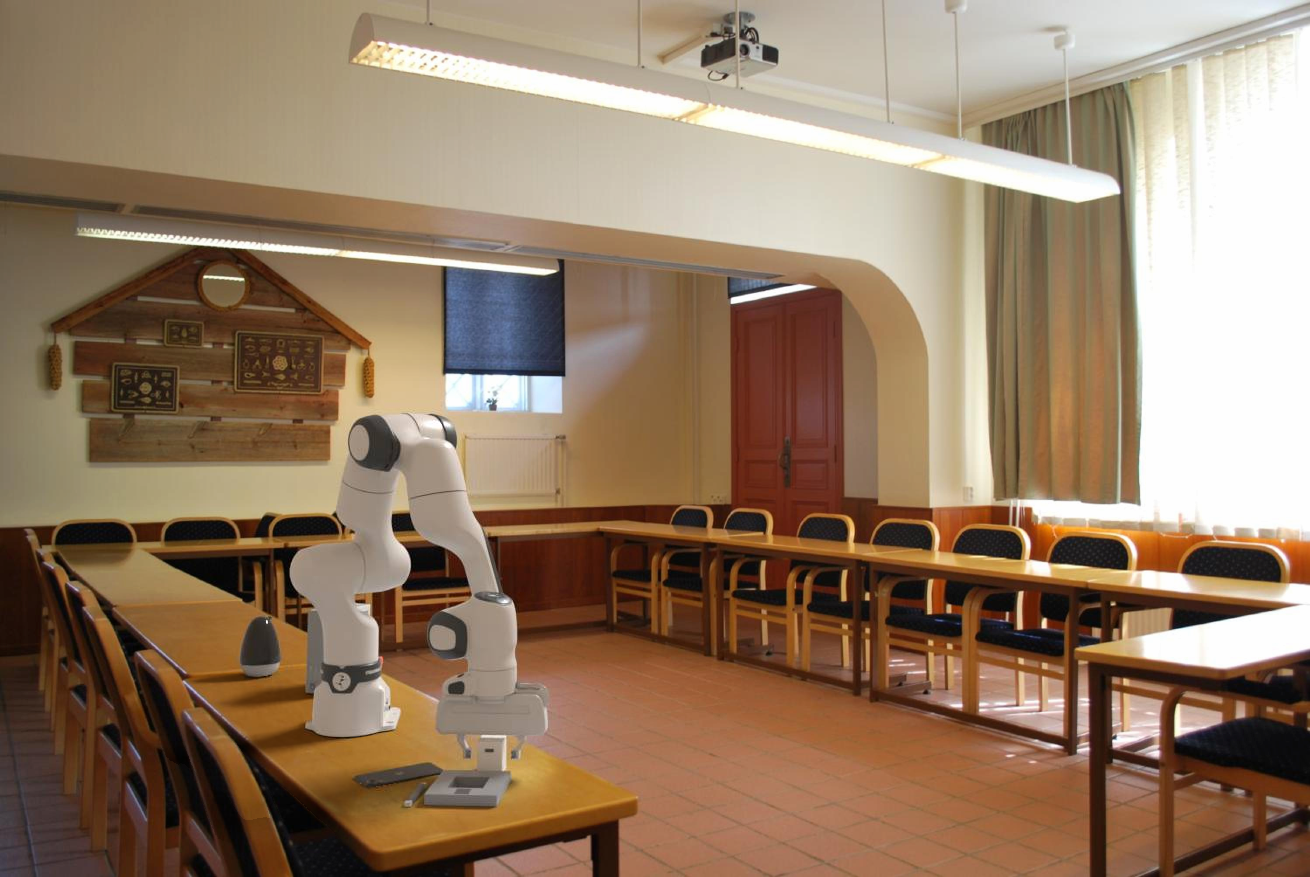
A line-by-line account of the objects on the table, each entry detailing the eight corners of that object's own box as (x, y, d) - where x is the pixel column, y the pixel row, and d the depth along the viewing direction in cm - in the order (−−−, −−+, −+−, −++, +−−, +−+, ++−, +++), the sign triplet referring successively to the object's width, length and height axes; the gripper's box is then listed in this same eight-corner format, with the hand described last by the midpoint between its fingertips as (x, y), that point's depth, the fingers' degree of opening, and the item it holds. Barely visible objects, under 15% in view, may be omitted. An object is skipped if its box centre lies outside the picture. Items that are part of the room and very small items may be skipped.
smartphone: (447, 770, 189) (367, 786, 180) (447, 775, 189) (367, 791, 180) (429, 760, 195) (351, 775, 185) (429, 765, 195) (351, 779, 185)
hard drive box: (331, 696, 246) (332, 612, 246) (304, 694, 248) (305, 610, 248) (370, 683, 260) (370, 603, 261) (344, 680, 263) (344, 601, 263)
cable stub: (420, 788, 181) (420, 781, 181) (427, 788, 181) (427, 781, 181) (403, 808, 171) (403, 801, 171) (411, 808, 171) (410, 800, 171)
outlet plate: (443, 779, 185) (443, 769, 185) (510, 781, 184) (510, 770, 184) (424, 805, 172) (424, 793, 172) (496, 806, 171) (496, 795, 171)
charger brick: (481, 767, 192) (482, 735, 192) (506, 768, 192) (506, 735, 192) (476, 775, 188) (476, 742, 188) (501, 775, 187) (501, 742, 187)
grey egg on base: (288, 671, 273) (289, 613, 273) (269, 680, 263) (270, 619, 263) (251, 670, 274) (252, 612, 274) (231, 678, 264) (231, 618, 264)
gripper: (551, 679, 193) (551, 754, 192) (441, 677, 193) (441, 752, 193) (546, 687, 186) (546, 764, 186) (433, 685, 187) (432, 762, 187)
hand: (491, 758), depth 190 cm, fingers open, 7 cm apart
